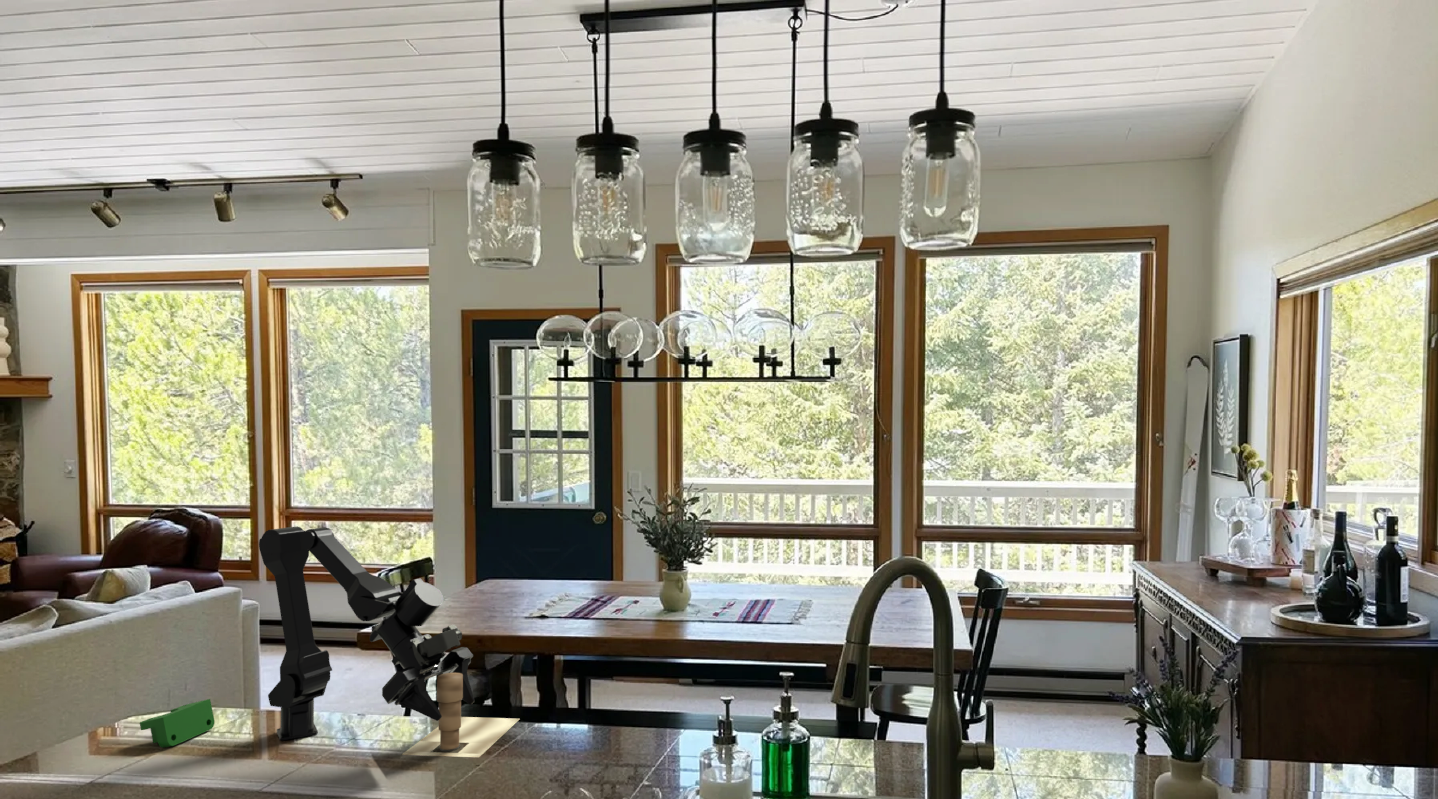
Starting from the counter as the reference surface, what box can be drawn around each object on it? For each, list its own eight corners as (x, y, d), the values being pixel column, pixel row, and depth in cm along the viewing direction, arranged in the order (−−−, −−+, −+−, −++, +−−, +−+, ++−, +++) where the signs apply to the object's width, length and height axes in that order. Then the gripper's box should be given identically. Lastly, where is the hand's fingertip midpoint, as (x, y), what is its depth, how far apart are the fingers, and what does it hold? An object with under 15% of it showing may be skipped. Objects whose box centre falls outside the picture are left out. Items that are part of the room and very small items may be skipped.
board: (401, 763, 147) (401, 754, 147) (451, 724, 167) (451, 716, 167) (478, 766, 145) (478, 757, 145) (520, 726, 165) (520, 718, 165)
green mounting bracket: (185, 754, 164) (191, 705, 168) (211, 748, 163) (217, 699, 167) (131, 750, 154) (139, 699, 158) (159, 744, 153) (166, 692, 157)
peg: (437, 752, 151) (437, 673, 152) (463, 750, 152) (463, 671, 153) (435, 762, 147) (435, 680, 148) (462, 759, 148) (462, 678, 149)
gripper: (396, 624, 143) (449, 696, 139) (464, 603, 161) (514, 667, 157) (358, 667, 146) (410, 739, 142) (430, 642, 163) (478, 706, 159)
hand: (456, 710), depth 150 cm, fingers open, 9 cm apart
